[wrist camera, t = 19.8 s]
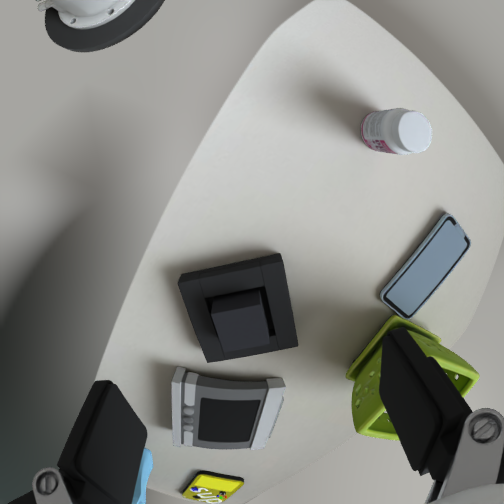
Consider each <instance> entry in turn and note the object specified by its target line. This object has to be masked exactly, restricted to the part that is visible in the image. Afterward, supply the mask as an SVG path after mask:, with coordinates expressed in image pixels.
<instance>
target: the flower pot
mask: <svg viewBox="0 0 504 504" xmlns="http://www.w3.org/2000/svg"><path fill="white" fill-rule="evenodd" d="M400 327H405V328H406V329H407V331H408V332H409V333H410V335H411V336H412V337H413V339H414V340H415V341H416V343H417V344H418V345H419V347H420V348H421V349H422V351H423V352H424V353H425V355H426V356H427V357H429V356H431V357H434V359H435V360H436V361H437V362H438V363H439V365H440V366H441V367H442V369H443V370H444V372H445V373H447V376H448V377H449V378H450V380H451V381H452V383H453V384H454V385H455V387H456V388H457V390H458V391H459V393H460V394H461V395H462V397H463V398H464V396H465V395H466V394H467V393H468V392H469V390H470V389H471V388H472V387H473V385H474V384H475V383H476V382H477V380H478V378H479V374H478V372H477V371H476V370H475V369H474V368H473V367H472V366H471V365H470V364H468V363H467V362H466V361H465V360H464V359H462V358H461V357H460V356H458V355H457V354H455V353H454V352H452V351H450V350H449V349H447V348H445V347H444V346H442V345H440V344H439V343H440V342H441V339H440V338H439V337H438V336H436V335H434V334H432V333H431V332H429V331H427V330H425V329H423V328H421V327H419V326H417V325H415V324H413V323H412V322H410V321H408V320H406V319H404V318H402V317H399V316H397V315H393V316H391V317H390V318H389V319H388V320H387V322H386V323H385V324H384V326H383V327H382V328H381V329H380V331H379V332H378V333H377V334H376V336H375V337H374V338H373V339H372V341H371V342H370V343H369V344H368V346H367V347H366V348H365V349H364V351H363V352H362V353H361V354H360V356H359V357H358V358H357V359H356V360H354V361H353V364H352V365H351V367H350V368H349V369H348V371H347V373H346V378H347V379H349V380H352V381H355V383H354V387H353V392H352V415H353V422H354V426H355V430H356V432H357V433H359V434H362V435H365V436H370V437H375V438H382V439H389V440H399V438H398V435H397V433H396V431H395V429H394V426H393V424H392V422H391V420H390V418H389V415H388V413H384V411H385V410H386V409H385V407H384V405H383V403H382V400H381V398H380V395H379V383H380V371H381V357H382V340H383V337H386V336H387V332H388V331H391V330H394V329H397V328H400ZM457 374H458V376H459V377H458V379H457V380H456V379H455V377H456V375H457ZM387 419H388V420H389V421H388V420H387Z"/></svg>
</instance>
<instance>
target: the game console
mask: <svg viewBox="0 0 504 504" xmlns="http://www.w3.org/2000/svg"><path fill="white" fill-rule="evenodd" d="M242 485H244V479H243V478H241V477H235V476H229V475H224V474H218V473H213V472H209V471H199V472H198V473H197V474H196V475H195V476H194V478H193V479H192V480H191V482H190V483H189V484H188V485H187V487H186V488H185V489H184V491H183V492H182V496H183V497H184V498H188V499H193V500H197V501H202V502H208V503H221V502H223V501H225V500H226V499H228V498H229V497H230V496H231V495H232V494H233V493H235V492H236V491H237V490H238V489H239V488H240V487H241V486H242Z"/></svg>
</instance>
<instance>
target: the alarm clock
mask: <svg viewBox="0 0 504 504" xmlns="http://www.w3.org/2000/svg"><path fill="white" fill-rule="evenodd" d="M285 388H286V386H285V383H284V381H283V379H282V378H272V379H266V382H241V381H229V380H221V379H214V378H209V377H204V376H199V375H198V374H196V373H191V372H188V373H185V368H182V367H178V366H177V369H176V371H175V374H174V377H173V379H172V425H173V446H177V447H180V446H181V444H184V445H185V446H189V447H192V446H196V447H202V448H209V449H243V448H250V450H255V449H263V448H264V447H265V445H266V442H267V439H268V438H270V436H271V434H272V431H273V428H274V426H275V423H276V420H277V417H278V415H279V412H280V409H281V406H282V403H283V400H284V398H283V394H284V391H285Z"/></svg>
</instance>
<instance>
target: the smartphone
mask: <svg viewBox="0 0 504 504" xmlns="http://www.w3.org/2000/svg"><path fill="white" fill-rule="evenodd" d="M470 246H471V240H470V239H469V237H468V236H467V234H466V233H465V232H464V230H463V229H462V227H461V226H460V225H459V223H458V222H457V221H456V219H455V218H454V217H453V216H452V215H450V214H445V215H443V216H442V218H441V219H440V220H439V222H438V223H437V224H436V226H435V227H434V228H433V230H432V231H431V232H430V234H429V235H428V236H427V237H426V239H425V240H424V241H423V242H422V244H421V245H420V246H419V247H418V249H417V250H416V251H415V252H414V254H413V255H412V256H411V257H410V258H409V260H408V261H407V262H406V263H405V264H404V266H403V267H402V268H401V269H400V270H399V272H398V273H397V274H396V275H395V276H394V277H393V278H392V280H391V281H390V282H389V283H388V284H387V285H386V286H385V288H384V289H383V290H382V291H381V293H380V298H381V300H382V301H383V302H384V303H385V304H387V305H388V306H389V307H390V308H391V309H393V310H394V311H395V312H396V313H398V314H399V315H400V316H401V317H402V318H404V319H406V320H408V319H410V318H412V317H413V316H414V315H415V314H416V313H417V312H418V310H419V309H420V308H421V307H422V306H423V305H424V304H425V303H426V302H427V300H428V299H429V298H430V297H431V296H432V295H433V294H434V292H435V291H436V290H437V289H438V288H439V286H440V285H441V284H442V283H443V282H444V280H445V279H446V278H447V277H448V276H449V274H450V273H451V272H452V271H453V269H454V268H455V267H456V265H457V264H458V263H459V262H460V260H461V259H462V258H463V256H464V255H465V254H466V252H467V251H468V250H469V248H470Z"/></svg>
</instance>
